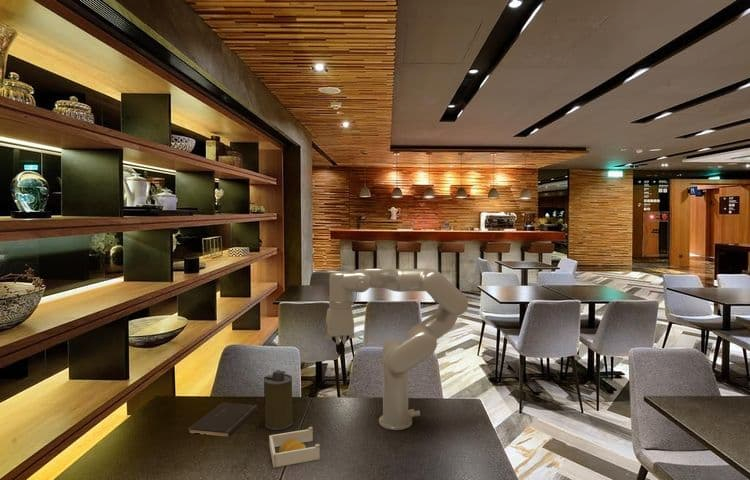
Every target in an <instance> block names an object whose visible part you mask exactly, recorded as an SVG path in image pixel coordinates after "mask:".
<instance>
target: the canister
mask: <svg viewBox="0 0 750 480" xmlns="http://www.w3.org/2000/svg"><path fill="white" fill-rule="evenodd" d="M263 391H264V392H263V396H264V397H263V399H264V401H263V402H264V406H265V407H264V408H265V409H264V411H265V413H264V414H265V416H264V417H265V420H264V421H265V423H264V426H265V428H267V429H268V430H272V431H279V430H284V429H288V428H290V427H291V426H292V425H293V423H294V420H293V419H294V418H293V376H292V375H290V374H287V373H286V371H283V370H280V369H277V370H275V371H274V372H272V374H271V375H269V374H268V375H265V376H263Z"/></svg>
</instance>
